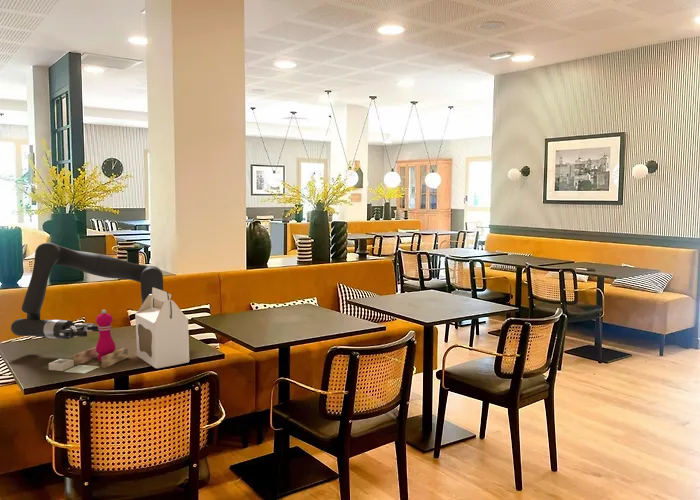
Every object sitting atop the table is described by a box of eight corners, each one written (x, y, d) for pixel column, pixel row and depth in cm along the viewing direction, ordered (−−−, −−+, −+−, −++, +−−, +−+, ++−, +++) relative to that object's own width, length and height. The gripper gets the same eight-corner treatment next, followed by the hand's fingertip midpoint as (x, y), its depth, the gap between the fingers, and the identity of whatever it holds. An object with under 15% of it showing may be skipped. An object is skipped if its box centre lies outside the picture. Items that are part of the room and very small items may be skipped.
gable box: (189, 362, 224) (187, 291, 221) (156, 369, 215) (153, 295, 213) (168, 350, 241) (166, 284, 238) (136, 356, 233) (133, 287, 230)
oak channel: (97, 355, 234) (97, 345, 234) (127, 357, 231) (127, 347, 230) (73, 365, 221) (73, 355, 220) (105, 367, 217) (104, 357, 217)
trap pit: (60, 365, 221) (60, 358, 221) (73, 366, 219) (73, 359, 219) (48, 369, 215) (48, 363, 215) (62, 370, 214) (62, 364, 213)
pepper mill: (100, 356, 232) (97, 307, 230) (118, 356, 232) (116, 307, 230) (93, 362, 225) (91, 311, 223) (112, 361, 225) (110, 311, 223)
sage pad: (79, 365, 220) (79, 364, 220) (99, 367, 218) (99, 366, 218) (64, 372, 212) (64, 371, 212) (85, 373, 210) (85, 372, 210)
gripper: (45, 324, 225) (80, 326, 222) (71, 316, 239) (105, 318, 235) (46, 342, 226) (82, 345, 222) (72, 334, 240) (106, 336, 236)
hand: (93, 331), depth 229 cm, fingers open, 8 cm apart
